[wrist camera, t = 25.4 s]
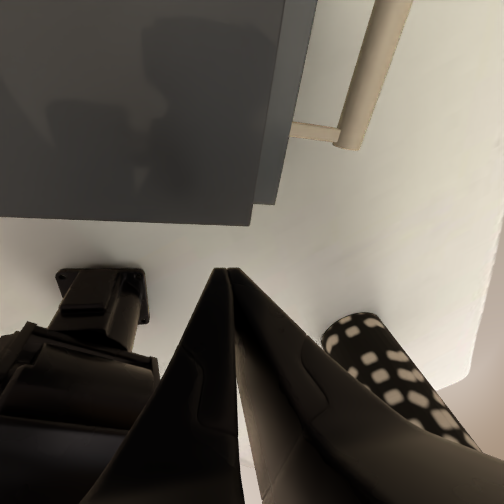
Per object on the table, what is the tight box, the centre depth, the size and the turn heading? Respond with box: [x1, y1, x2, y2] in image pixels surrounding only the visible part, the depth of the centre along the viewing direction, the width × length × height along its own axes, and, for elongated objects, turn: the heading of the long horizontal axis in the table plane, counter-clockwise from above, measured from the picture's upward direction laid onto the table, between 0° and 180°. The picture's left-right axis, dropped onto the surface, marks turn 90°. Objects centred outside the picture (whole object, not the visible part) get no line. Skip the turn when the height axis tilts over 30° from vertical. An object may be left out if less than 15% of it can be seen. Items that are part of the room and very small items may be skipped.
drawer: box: [253, 0, 413, 205], centre depth 10 cm, size 18×11×8 cm, turn 81°
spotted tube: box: [322, 313, 483, 453], centre depth 26 cm, size 8×8×20 cm
